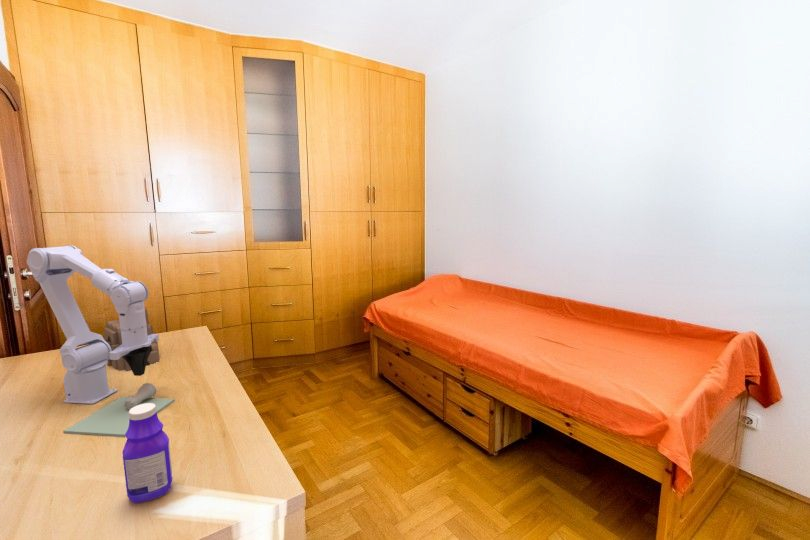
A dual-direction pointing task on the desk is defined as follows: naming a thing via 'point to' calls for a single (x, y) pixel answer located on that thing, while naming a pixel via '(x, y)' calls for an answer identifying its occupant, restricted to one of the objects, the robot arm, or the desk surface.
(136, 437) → the bottle
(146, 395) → the rook chess piece
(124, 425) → the mat
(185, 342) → the desk surface
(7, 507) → the desk surface
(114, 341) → the wooden puzzle
